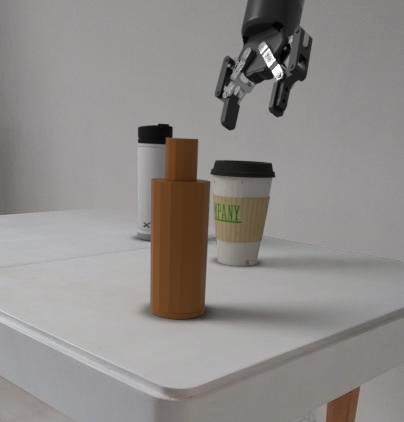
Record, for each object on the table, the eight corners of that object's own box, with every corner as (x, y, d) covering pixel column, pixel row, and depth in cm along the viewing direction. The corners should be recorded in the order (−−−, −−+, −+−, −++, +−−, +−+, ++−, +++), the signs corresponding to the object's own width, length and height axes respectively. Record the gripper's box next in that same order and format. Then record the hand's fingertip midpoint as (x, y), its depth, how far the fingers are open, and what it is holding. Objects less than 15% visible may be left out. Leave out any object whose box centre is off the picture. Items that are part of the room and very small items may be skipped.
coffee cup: (207, 254, 94) (211, 159, 89) (266, 257, 94) (273, 161, 88) (205, 266, 85) (209, 161, 80) (270, 269, 85) (279, 164, 79)
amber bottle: (206, 305, 66) (213, 139, 59) (202, 320, 60) (210, 139, 53) (155, 302, 66) (157, 137, 59) (146, 317, 60) (147, 136, 54)
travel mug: (148, 242, 102) (149, 122, 95) (131, 236, 107) (131, 122, 100) (177, 240, 105) (180, 124, 98) (160, 234, 110) (162, 124, 103)
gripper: (335, 4, 73) (310, 124, 72) (253, 39, 83) (230, 143, 82) (301, -35, 68) (274, 93, 67) (218, 7, 78) (194, 118, 77)
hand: (250, 121), depth 75 cm, fingers open, 8 cm apart
